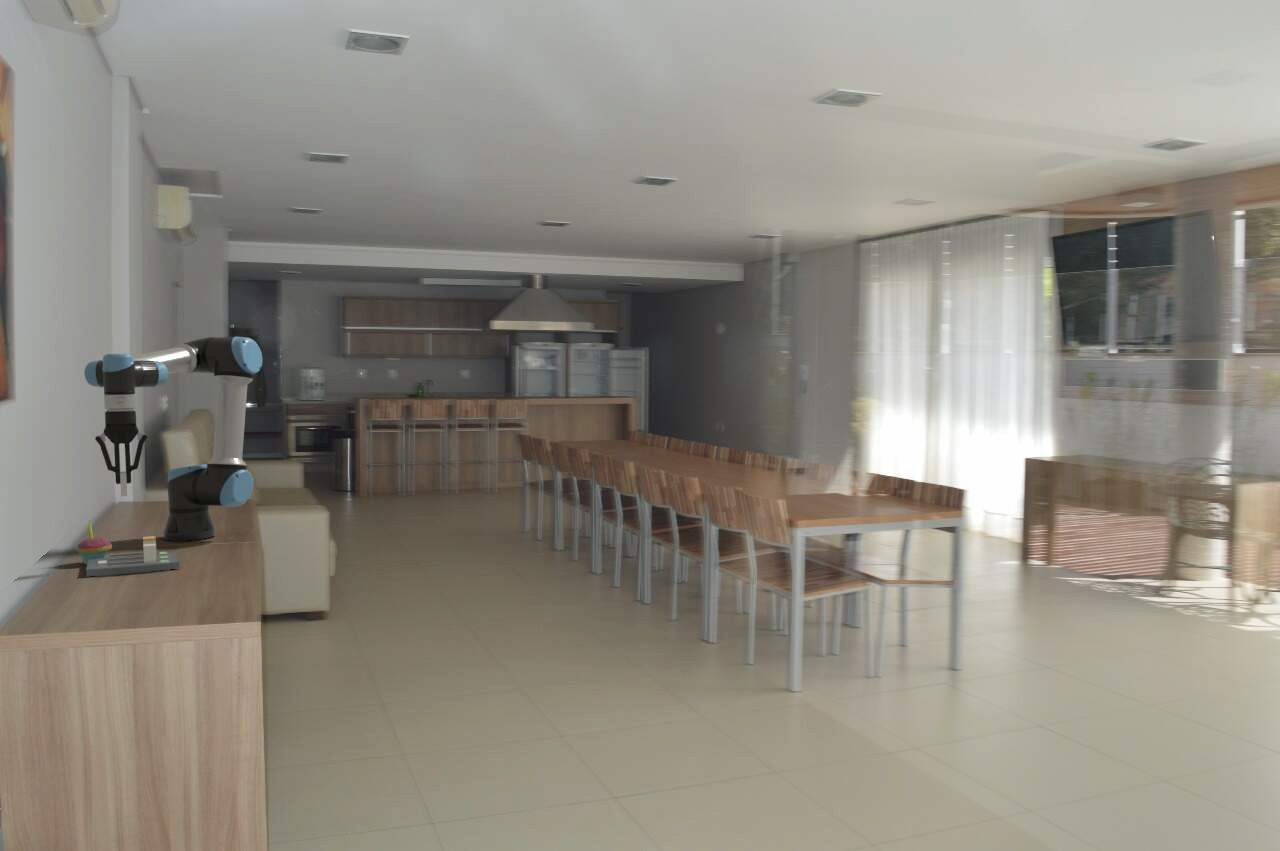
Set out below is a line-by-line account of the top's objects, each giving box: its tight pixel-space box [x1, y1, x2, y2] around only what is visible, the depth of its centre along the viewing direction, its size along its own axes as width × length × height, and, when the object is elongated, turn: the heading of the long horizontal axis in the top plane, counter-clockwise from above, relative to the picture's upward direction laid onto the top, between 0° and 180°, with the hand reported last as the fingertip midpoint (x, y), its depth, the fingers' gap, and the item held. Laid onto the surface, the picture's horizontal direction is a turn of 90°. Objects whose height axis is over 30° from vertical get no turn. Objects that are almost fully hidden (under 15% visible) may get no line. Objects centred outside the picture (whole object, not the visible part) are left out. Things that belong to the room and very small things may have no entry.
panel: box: [85, 535, 180, 578], centre depth 268 cm, size 18×22×7 cm
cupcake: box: [76, 520, 113, 565], centre depth 274 cm, size 9×8×12 cm
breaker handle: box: [142, 536, 157, 545], centre depth 270 cm, size 3×3×6 cm
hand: (124, 495), depth 271 cm, fingers closed
